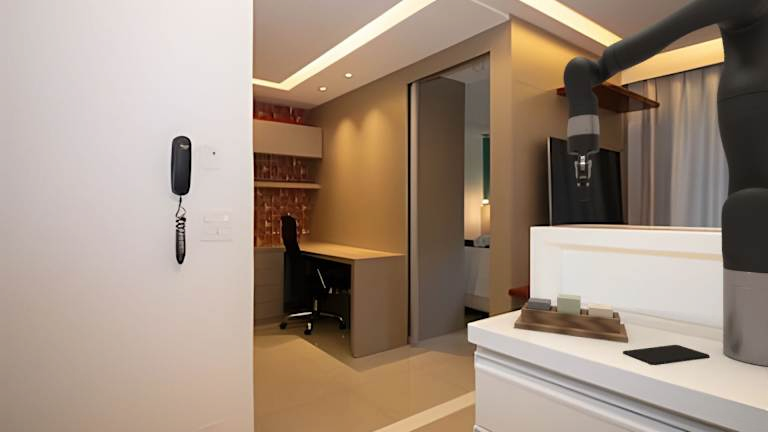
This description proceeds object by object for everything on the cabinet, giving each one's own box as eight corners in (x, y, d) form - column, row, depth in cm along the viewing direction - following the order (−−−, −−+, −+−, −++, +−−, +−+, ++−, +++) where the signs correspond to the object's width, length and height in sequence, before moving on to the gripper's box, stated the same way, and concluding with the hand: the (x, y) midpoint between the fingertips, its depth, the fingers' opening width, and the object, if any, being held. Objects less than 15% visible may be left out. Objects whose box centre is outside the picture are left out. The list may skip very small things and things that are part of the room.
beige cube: (612, 325, 93) (612, 305, 93) (612, 330, 89) (612, 309, 89) (588, 322, 95) (588, 303, 95) (588, 327, 91) (588, 307, 91)
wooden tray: (624, 328, 95) (624, 311, 95) (628, 343, 84) (628, 322, 84) (522, 316, 106) (522, 300, 106) (514, 327, 96) (514, 310, 96)
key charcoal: (551, 317, 100) (551, 299, 100) (549, 322, 95) (549, 303, 95) (530, 315, 102) (530, 297, 102) (527, 320, 98) (527, 301, 98)
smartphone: (620, 350, 78) (676, 344, 82) (620, 355, 78) (676, 348, 82) (652, 363, 72) (711, 355, 76) (652, 367, 72) (711, 359, 76)
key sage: (580, 315, 96) (580, 295, 96) (579, 319, 92) (579, 299, 92) (558, 312, 99) (558, 293, 99) (557, 317, 94) (557, 297, 94)
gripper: (599, 128, 94) (599, 199, 94) (599, 138, 106) (599, 201, 106) (566, 131, 98) (566, 200, 98) (568, 140, 109) (568, 201, 109)
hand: (583, 200), depth 102 cm, fingers closed
